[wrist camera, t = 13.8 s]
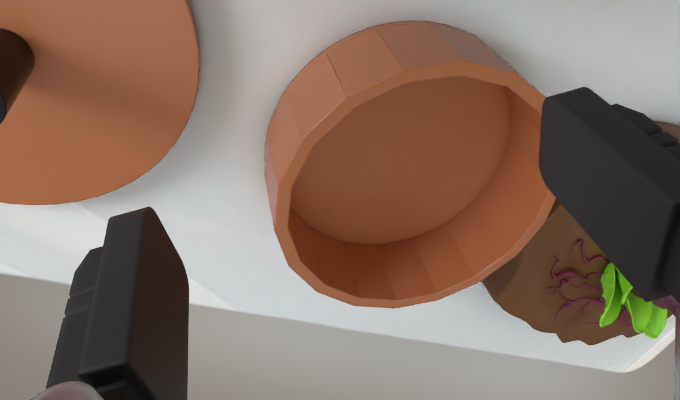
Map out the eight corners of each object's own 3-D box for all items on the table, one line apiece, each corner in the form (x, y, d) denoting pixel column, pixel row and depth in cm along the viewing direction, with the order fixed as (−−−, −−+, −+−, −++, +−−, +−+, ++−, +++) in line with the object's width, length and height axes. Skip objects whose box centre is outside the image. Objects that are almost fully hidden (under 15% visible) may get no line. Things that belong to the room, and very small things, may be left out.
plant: (624, 77, 32) (782, 184, 24) (792, 166, 41) (954, 270, 32) (446, 301, 42) (511, 436, 33) (611, 336, 50) (698, 452, 41)
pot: (303, -15, 25) (325, 25, 21) (565, 56, 31) (624, 100, 26) (238, 234, 33) (243, 299, 29) (453, 256, 39) (485, 314, 34)
